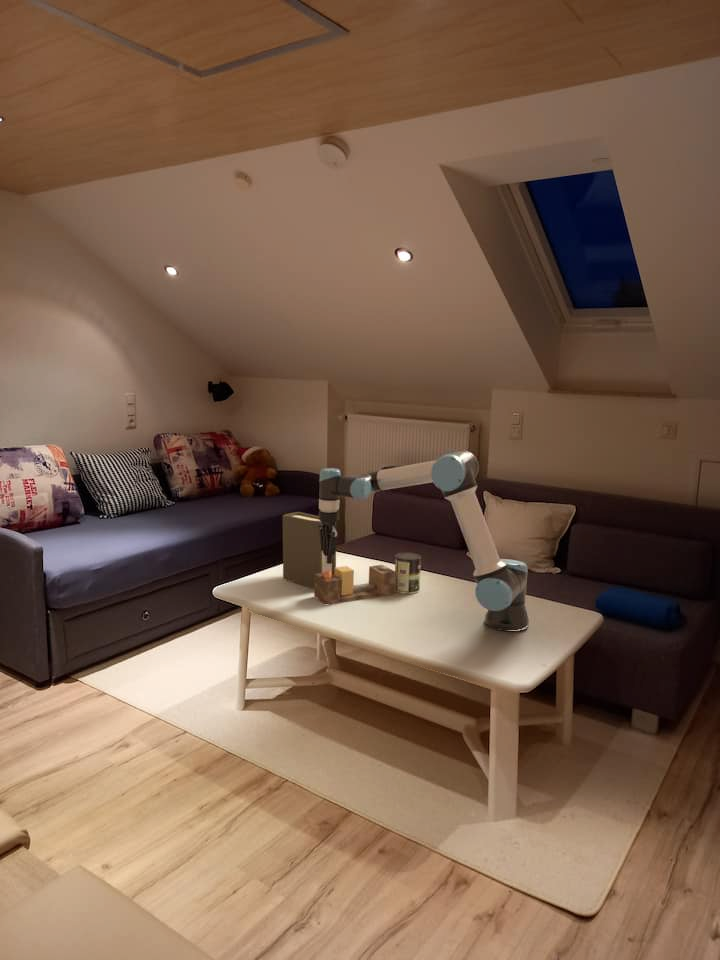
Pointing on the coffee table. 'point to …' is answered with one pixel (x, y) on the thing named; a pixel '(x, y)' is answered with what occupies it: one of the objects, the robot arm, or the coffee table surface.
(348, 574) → the carriage
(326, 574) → the orange peg
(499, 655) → the coffee table surface
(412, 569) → the coffee can
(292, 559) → the book
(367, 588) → the bar
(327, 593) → the wooden base
